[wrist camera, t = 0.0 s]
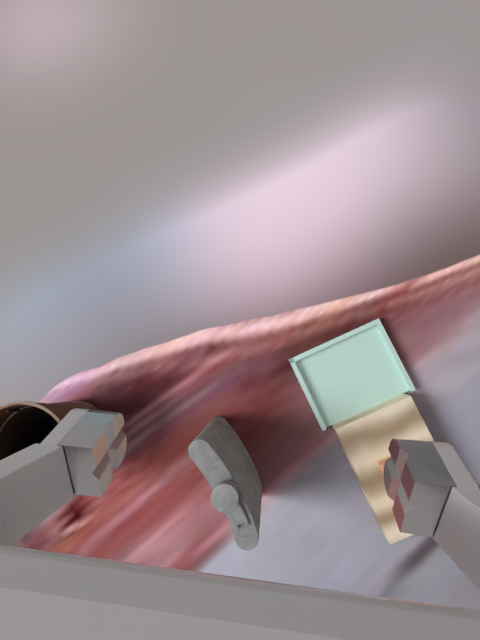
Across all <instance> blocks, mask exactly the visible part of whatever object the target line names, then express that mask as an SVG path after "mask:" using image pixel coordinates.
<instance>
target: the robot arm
mask: <svg viewBox="0 0 480 640" xmlns="http://www.w3.org/2000/svg"><path fill="white" fill-rule="evenodd" d="M124 424H125V423H124V418H123V415H122V414H121V413H116V412H108V411H99V410H88V409H79V408H75V409H72V410H71V411H70V412H69V413H68V414H67V415H66V416H65V417H64V418H63V419H62V420H61V422H60V423H59V424H58V425H57V426H56V427H55V428H54V429H53V430H52V431H51V433H50V434H49V435H48V436H47V437H46V438H45V439H44V440H43V441H42V442H41V443H40V444H36V443H35V444H33V445H31V446H29V447H27V448H25V449H23V450H21V451H19V452H17V453H15V454H12V455H10V456H8V457H6V458H4V459H2V460H0V640H480V611H479V610H471V609H464V608H457V607H450V606H442V605H435V604H428V603H421V602H413V601H406V600H399V599H391V598H384V597H377V596H370V595H362V594H355V593H348V592H341V591H333V590H326V589H319V588H312V587H304V586H297V585H290V584H282V583H275V582H268V581H260V580H253V579H246V578H239V577H231V576H224V575H217V574H209V573H202V572H195V571H187V570H180V569H173V568H166V567H159V566H151V565H144V564H137V563H130V562H123V561H115V560H108V559H101V558H94V557H87V556H79V555H72V554H65V553H58V552H50V551H43V550H36V549H28V548H21V547H14V546H12V544H13V543H15V542H16V541H17V540H18V539H20V538H21V537H22V536H24V535H25V534H26V533H27V532H29V531H30V530H31V529H33V528H34V527H35V526H36V525H38V524H39V523H40V522H42V521H43V520H44V519H45V518H47V517H48V516H49V515H51V514H52V513H53V512H54V511H56V510H57V509H58V508H59V507H61V506H62V505H63V504H65V503H66V502H67V501H68V500H70V499H71V498H72V497H74V494H75V495H87V496H98V497H102V496H103V495H104V493H105V491H106V489H107V488H108V486H109V484H110V482H111V481H112V479H113V475H112V471H113V470H114V469H116V468H117V467H119V466H120V465H121V463H122V461H123V459H124V456H125V452H126V449H127V437H126V434H125V433H124V432H123V431H122V430H121V428H122V427H123V425H124ZM388 449H389V452H390V455H391V457H389V458H388V459H387V460H386V461H385V465H384V485H385V489H386V492H387V495H388V496H389V497H390V498H391V499H392V500H393V501H394V505H393V508H392V510H393V513H394V516H395V519H396V522H397V525H398V528H399V531H400V532H401V533H408V534H415V535H422V536H429V537H434V538H433V539H434V540H435V541H436V542H437V543H438V545H439V546H440V547H441V548H442V549H443V550H444V551H445V552H446V553H447V555H448V556H449V557H450V558H451V559H452V560H453V561H454V562H455V564H456V565H457V566H458V567H459V568H460V569H461V570H462V571H463V572H464V574H465V575H466V576H467V577H468V578H469V579H470V580H471V581H472V582H473V584H474V585H475V586H476V587H477V588H478V589H479V590H480V489H479V487H478V485H477V484H476V482H475V481H474V479H473V478H472V476H471V475H470V473H469V471H468V470H467V468H466V467H465V465H464V464H463V462H462V461H461V459H460V457H459V456H458V454H457V453H456V451H455V450H454V448H453V447H452V445H451V444H449V443H448V442H435V441H429V442H428V441H418V440H407V439H395V438H392V440H391V441H390V444H389V448H388Z"/></svg>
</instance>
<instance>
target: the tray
mask: <svg viewBox="0 0 480 640" xmlns="http://www.w3.org/2000/svg"><path fill="white" fill-rule="evenodd" d="M288 360H289V362H290V364H291V366H292V368H293V370H294V372H295V374H296V377H297V379H298V381H299V383H300V385H301V387H302V389H303V391H304V394H305V396H306V398H307V400H308V402H309V404H310V406H311V408H312V410H313V413H314V415H315V417H316V419H317V421H318V423H319V425H320V427H321V429H322V431H324V430H326V428H327V427H329V426H331V425H333V424H336V423H338V422H340V421H342V420H345V419H347V418H349V417H351V416H354V415H356V414H358V413H360V412H362V411H365V410H367V409H369V408H371V407H374V406H376V405H378V404H380V403H383V402H385V401H387V400H389V399H392V398H394V397H396V396H398V395H401V394H403V393H405V392H407V391H414V390H416V389H415V387H414V385H413V383H412V381H411V379H410V377H409V375H408V374H407V372H406V370H405V368H404V366H403V364H402V362H401V360H400V358H399V356H398V354H397V352H396V350H395V349H394V347H393V345H392V343H391V341H390V339H389V337H388V335H387V333H386V331H385V329H384V327H383V325H382V323H381V322H380V320H379V318H378V319H376V320H373V321H371V322H369V323H367V324H365V325H363V326H360V327H358V328H356V329H354V330H352V331H349V332H347V333H345V334H343V335H341V336H339V337H336V338H334V339H332V340H330V341H328V342H325V343H323V344H321V345H319V346H317V347H315V348H312V349H310V350H308V351H306V352H304V353H301V354H299V355H297V356H295V357H293V358H290V359H288Z"/></svg>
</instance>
